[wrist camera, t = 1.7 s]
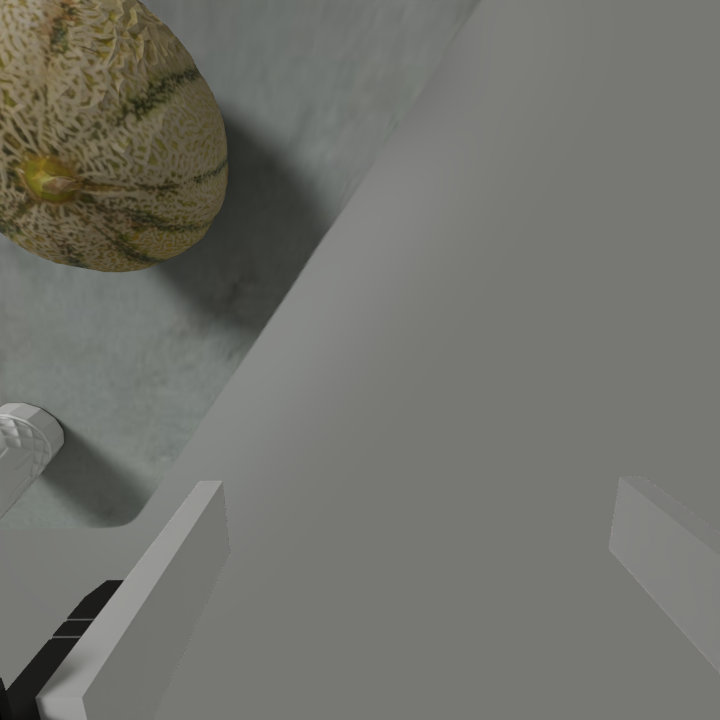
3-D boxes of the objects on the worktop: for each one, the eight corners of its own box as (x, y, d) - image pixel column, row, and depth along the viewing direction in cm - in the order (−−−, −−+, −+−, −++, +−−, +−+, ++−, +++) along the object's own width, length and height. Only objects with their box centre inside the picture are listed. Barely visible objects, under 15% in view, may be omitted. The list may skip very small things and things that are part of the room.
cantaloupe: (72, -32, 24) (-253, -295, 11) (283, 110, 28) (238, 48, 15) (21, 187, 29) (-245, 195, 16) (207, 283, 33) (121, 354, 20)
